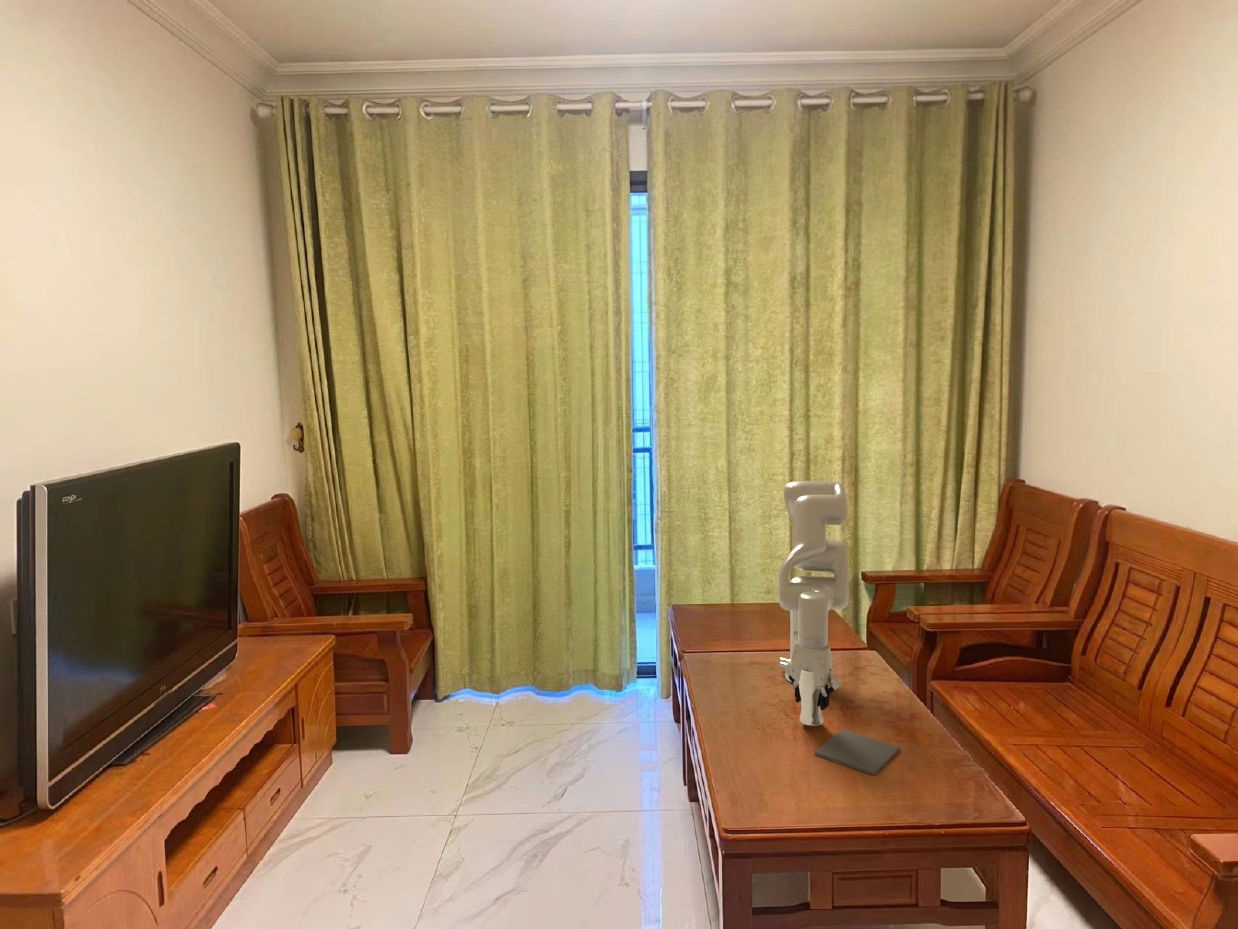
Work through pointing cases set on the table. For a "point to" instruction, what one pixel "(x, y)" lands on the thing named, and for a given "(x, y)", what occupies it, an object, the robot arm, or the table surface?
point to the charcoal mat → (857, 751)
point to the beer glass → (809, 700)
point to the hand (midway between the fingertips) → (811, 703)
